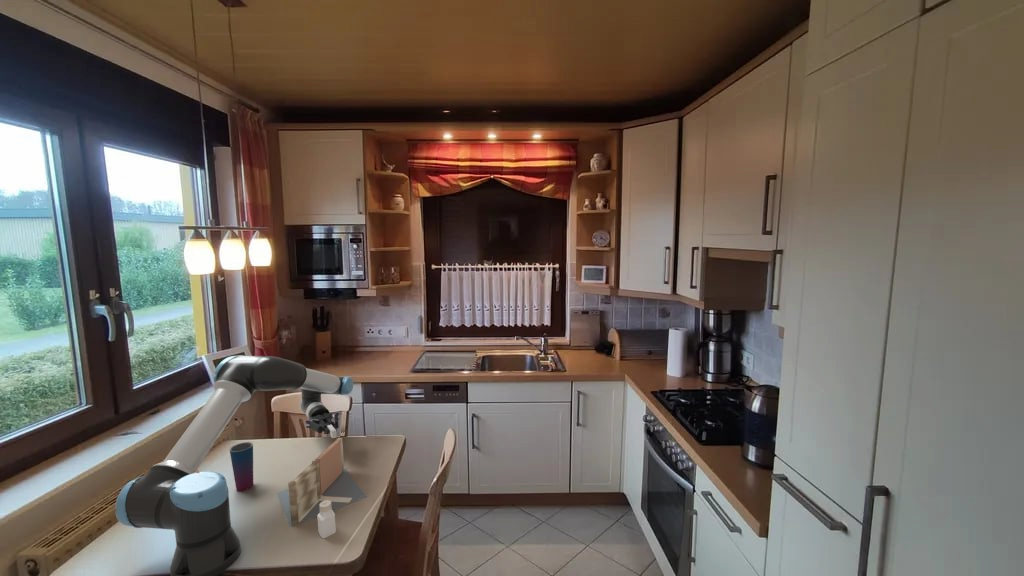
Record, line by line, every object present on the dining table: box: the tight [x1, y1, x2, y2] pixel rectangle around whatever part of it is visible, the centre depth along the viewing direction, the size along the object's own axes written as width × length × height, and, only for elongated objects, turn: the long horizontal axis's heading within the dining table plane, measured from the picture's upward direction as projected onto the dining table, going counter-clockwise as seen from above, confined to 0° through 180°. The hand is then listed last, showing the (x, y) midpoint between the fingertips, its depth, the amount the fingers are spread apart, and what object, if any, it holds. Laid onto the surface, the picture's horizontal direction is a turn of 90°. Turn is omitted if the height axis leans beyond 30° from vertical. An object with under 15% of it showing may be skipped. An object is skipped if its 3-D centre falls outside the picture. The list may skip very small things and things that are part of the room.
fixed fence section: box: [287, 460, 321, 526], centre depth 129 cm, size 14×2×13 cm, turn 174°
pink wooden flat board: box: [315, 437, 345, 495], centre depth 144 cm, size 15×2×13 cm, turn 174°
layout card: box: [276, 468, 367, 528], centre depth 138 cm, size 23×22×1 cm
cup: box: [229, 441, 254, 492], centre depth 142 cm, size 7×7×15 cm
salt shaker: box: [316, 500, 337, 539], centre depth 119 cm, size 4×4×10 cm
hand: (334, 434), depth 153 cm, fingers closed
